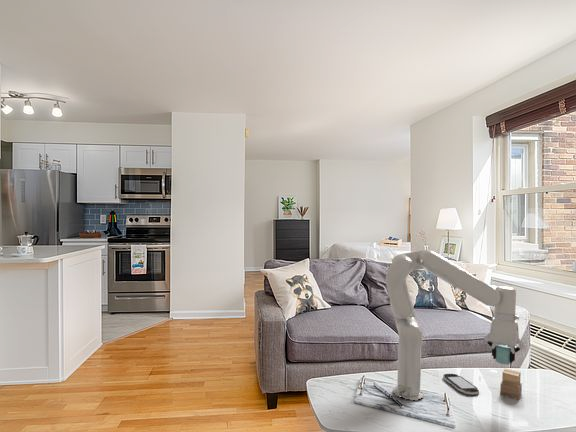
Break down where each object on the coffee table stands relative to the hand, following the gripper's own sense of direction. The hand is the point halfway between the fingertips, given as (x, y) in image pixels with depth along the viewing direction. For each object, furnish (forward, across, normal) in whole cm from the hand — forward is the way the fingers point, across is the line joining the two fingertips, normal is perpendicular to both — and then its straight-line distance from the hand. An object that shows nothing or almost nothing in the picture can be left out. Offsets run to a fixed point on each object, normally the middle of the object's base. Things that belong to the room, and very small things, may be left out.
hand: (503, 359), depth 156 cm
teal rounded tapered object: (+1, 0, 0) cm, 1 cm away
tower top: (+14, -1, -13) cm, 19 cm away
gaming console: (+19, +18, -7) cm, 27 cm away
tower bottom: (+19, -1, -13) cm, 23 cm away
